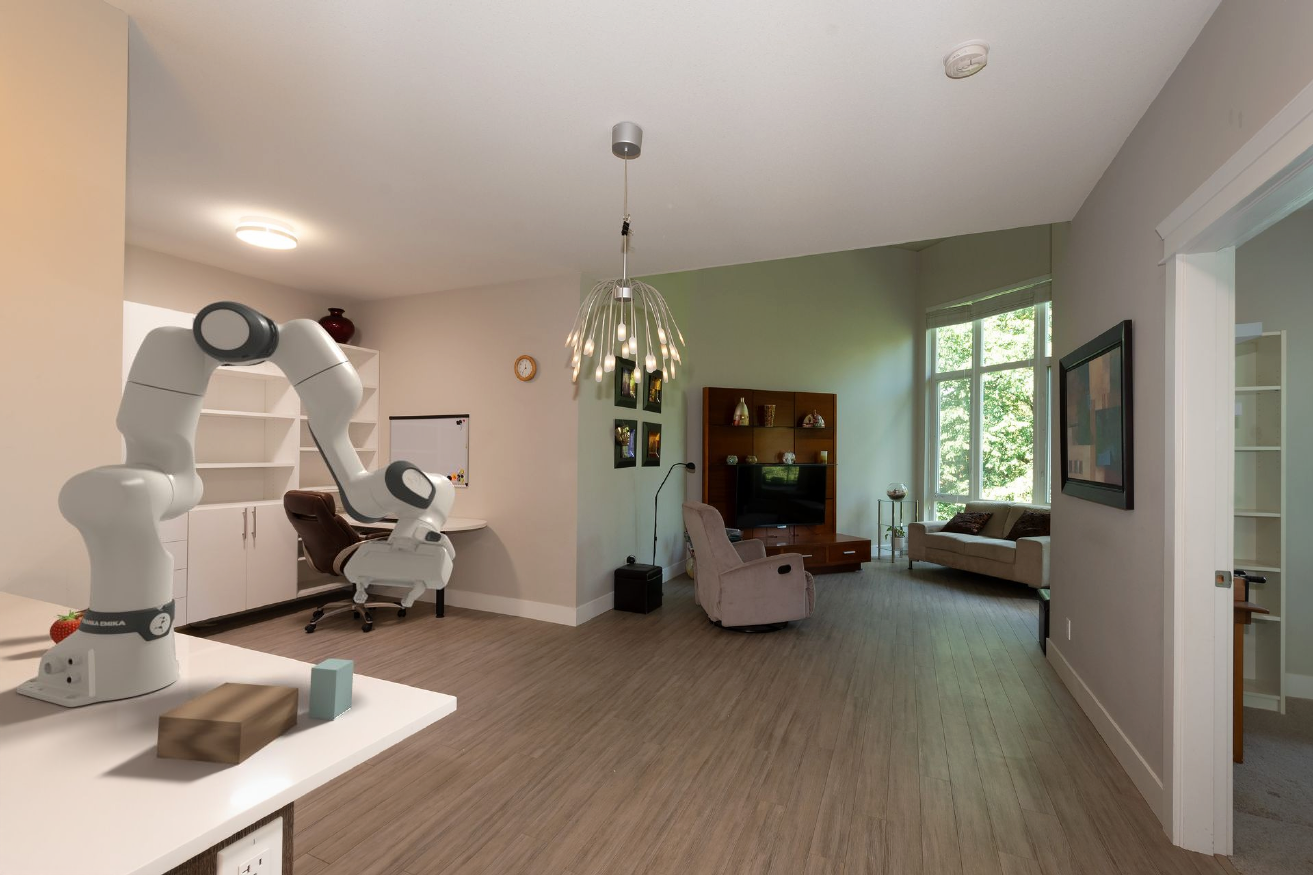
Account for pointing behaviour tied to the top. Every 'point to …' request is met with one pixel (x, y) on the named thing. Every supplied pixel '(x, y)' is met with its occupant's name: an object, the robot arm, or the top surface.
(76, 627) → the fruit
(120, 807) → the top surface
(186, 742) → the walnut block
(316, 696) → the tea tin
